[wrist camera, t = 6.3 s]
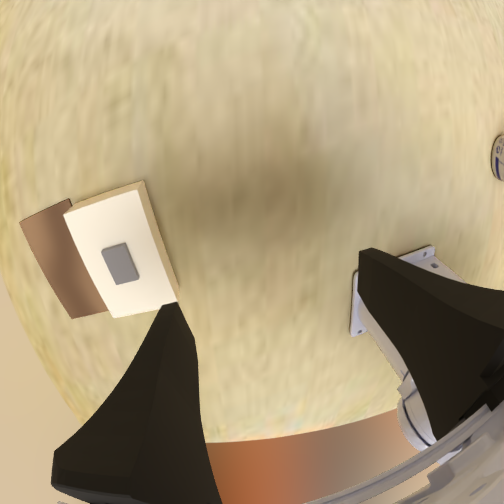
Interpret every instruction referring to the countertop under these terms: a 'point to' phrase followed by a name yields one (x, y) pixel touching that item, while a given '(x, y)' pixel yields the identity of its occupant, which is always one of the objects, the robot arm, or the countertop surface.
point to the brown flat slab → (62, 261)
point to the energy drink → (498, 158)
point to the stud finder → (123, 250)
